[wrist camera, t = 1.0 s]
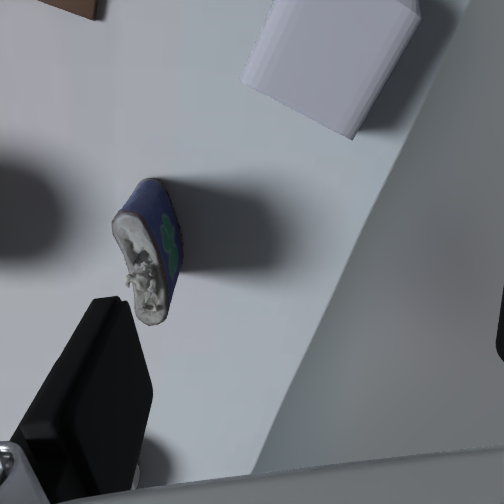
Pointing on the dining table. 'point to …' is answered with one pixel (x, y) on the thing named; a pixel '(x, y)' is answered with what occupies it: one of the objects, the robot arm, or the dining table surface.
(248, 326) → the dining table surface
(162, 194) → the dark blue piece
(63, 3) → the board
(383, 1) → the charger
